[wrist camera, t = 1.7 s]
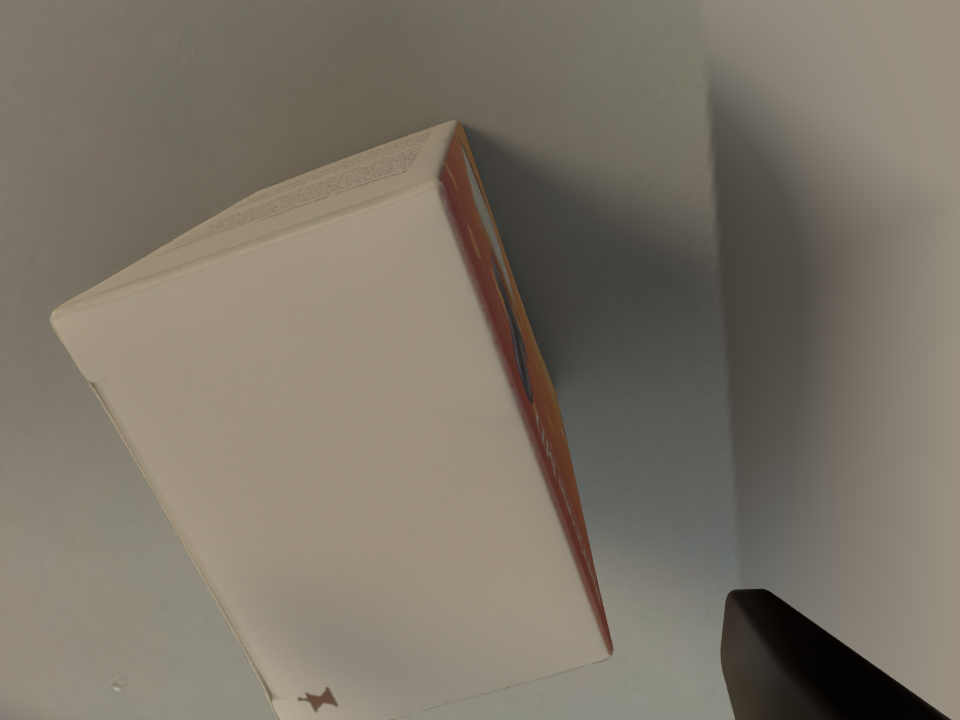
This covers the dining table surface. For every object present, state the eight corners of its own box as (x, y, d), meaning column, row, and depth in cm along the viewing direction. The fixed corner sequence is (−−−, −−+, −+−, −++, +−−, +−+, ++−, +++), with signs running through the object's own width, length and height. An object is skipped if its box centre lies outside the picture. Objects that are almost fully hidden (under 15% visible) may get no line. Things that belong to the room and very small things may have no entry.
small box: (558, 396, 22) (625, 673, 12) (370, 455, 23) (290, 763, 13) (461, 109, 19) (447, 169, 9) (250, 186, 20) (32, 316, 10)
